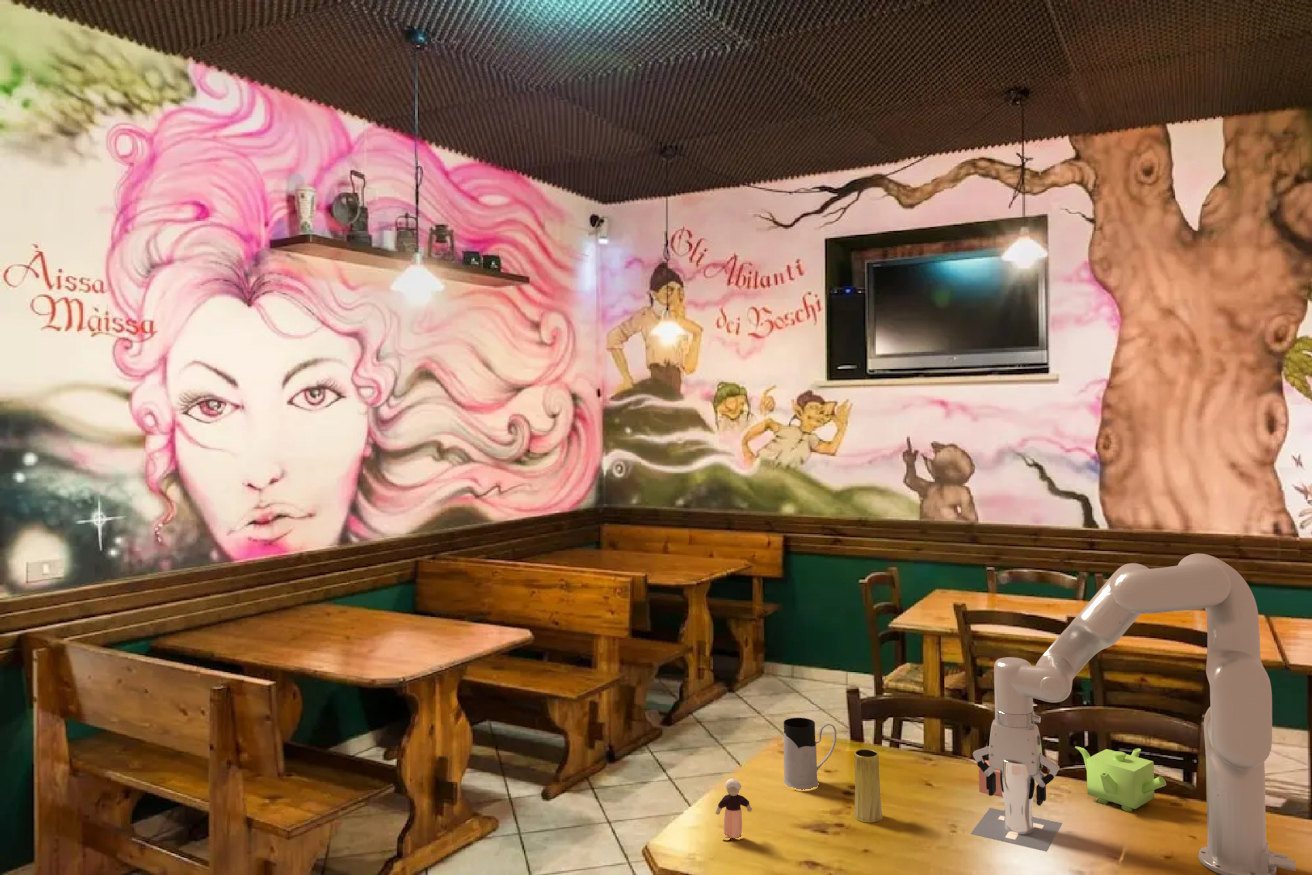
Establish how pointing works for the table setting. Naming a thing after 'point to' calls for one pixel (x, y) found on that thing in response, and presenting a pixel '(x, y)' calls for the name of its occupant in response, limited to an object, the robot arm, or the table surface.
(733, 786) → the grandmother figurine
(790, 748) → the grey and black mug
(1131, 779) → the kettle
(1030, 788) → the beer glass
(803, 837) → the table surface
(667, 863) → the table surface
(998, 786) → the block
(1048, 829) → the board
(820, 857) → the table surface
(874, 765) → the vase
